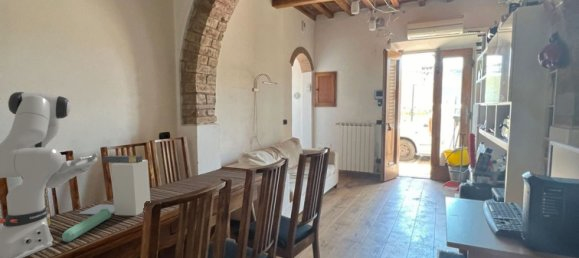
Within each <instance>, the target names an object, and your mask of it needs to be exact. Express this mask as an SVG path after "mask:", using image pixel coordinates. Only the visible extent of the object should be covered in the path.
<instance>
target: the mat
mask: <svg viewBox="0 0 579 258" xmlns="http://www.w3.org/2000/svg"><path fill="white" fill-rule="evenodd" d="M101 209H108V210H109V211H110V212H111V216H112V215H115V213H114V204H102V203H101V204H100V203H99V204H96V205H95V206H92V207H90V208H87V209H85V210H82V211H80V212H78V213H77V215H81V216H83V215H84V216H93V215H94V214H96V213H98V212H100V210H101Z"/></svg>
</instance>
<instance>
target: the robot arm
mask: <svg viewBox="0 0 579 258" xmlns="http://www.w3.org/2000/svg"><path fill="white" fill-rule="evenodd" d="M7 107H8V110H9V111H10V112H11V113H12V114H13V115H15V116H14V119H13V122H12V125H11V129H10V131H9V133H8V135H7V136H6V137H5V138H4V140H3V141H1V142H0V179H4V178H5V179H7V178H17V177H18V178H19V177H21V179H22V182H21V183H20V184H19V185H17V186H16V187H14V188H12V189H10V190H8V192H7V195H6V197H5V198H6V207H7V214H6V215H5V217H0V224H3V226H2V227H1V228H0V258H25V257H29V256H30V255H32V254H35V253H37V252H40V251H42V250H45V249H47V248H49V247H51V246H53V241H54V238H53V236H52V234H51V231H50V228H49V226H48V224H47V219H46V216H47V209H46V207H45V200H44V190H45V185H46V183H47V189H54V188H55V189H56V188H58V187H60V186H62V185H64V184H66V183H68V182H69V180H71V179H73V178H75V177H77V176H78V175H79V174H81V173H83V172H86V171H88V168H90V167H92V166H93V165H95V164H96V163H97V162H98V161H99V159H98V157H99V155H98V153H93V154H92V155H90V156H86V157H83V156H80V157H78V158H76V159H73V160H67V161H65V162H63V161H64V160H63V159H64V158H63V155H62V154H61V151H59V150H58V149H57V148H54V147H46V146H47V145H48V144H49V143H50V142H51V141H52V140H53V138H55V137H56V136H57V135H58V132H59V129H60V128H59V127H60V119H64V118H66V117H68V115H69V114H70V112H71V103H70V102H69V99H68V98H67V97H64V96H61V95H59V96H57V95H52V94H46V93H45V94H44V93H40V92H25V91H16V92H12V94H10V96H9V97H8V100H7Z"/></svg>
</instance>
